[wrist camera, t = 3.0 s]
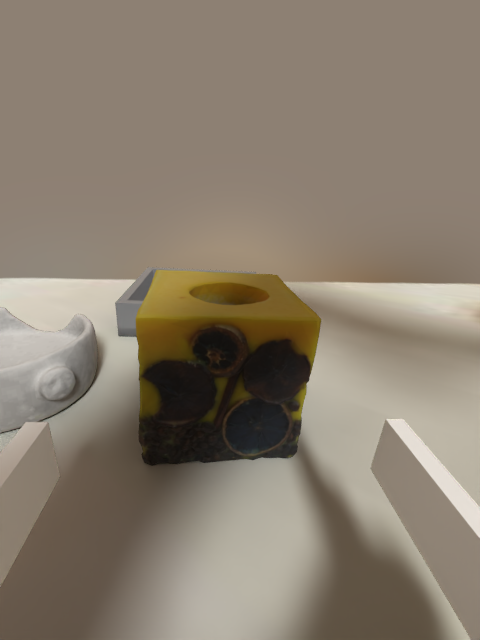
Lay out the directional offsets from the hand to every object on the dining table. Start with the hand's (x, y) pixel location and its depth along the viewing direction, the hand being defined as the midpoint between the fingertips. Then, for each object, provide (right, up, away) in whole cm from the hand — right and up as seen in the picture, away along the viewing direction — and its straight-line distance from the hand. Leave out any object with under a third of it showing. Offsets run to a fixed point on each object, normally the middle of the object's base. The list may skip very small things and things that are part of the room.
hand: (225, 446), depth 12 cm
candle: (-1, -2, +11) cm, 12 cm away
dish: (-18, -1, +12) cm, 22 cm away
